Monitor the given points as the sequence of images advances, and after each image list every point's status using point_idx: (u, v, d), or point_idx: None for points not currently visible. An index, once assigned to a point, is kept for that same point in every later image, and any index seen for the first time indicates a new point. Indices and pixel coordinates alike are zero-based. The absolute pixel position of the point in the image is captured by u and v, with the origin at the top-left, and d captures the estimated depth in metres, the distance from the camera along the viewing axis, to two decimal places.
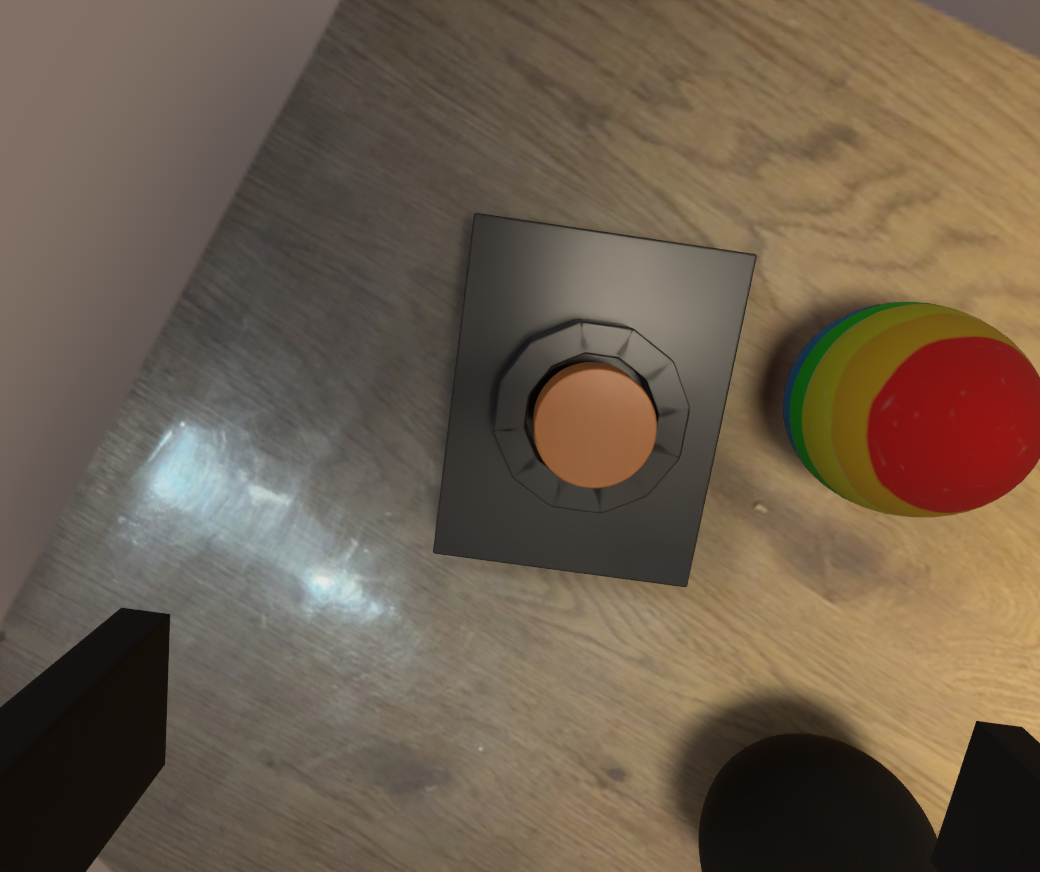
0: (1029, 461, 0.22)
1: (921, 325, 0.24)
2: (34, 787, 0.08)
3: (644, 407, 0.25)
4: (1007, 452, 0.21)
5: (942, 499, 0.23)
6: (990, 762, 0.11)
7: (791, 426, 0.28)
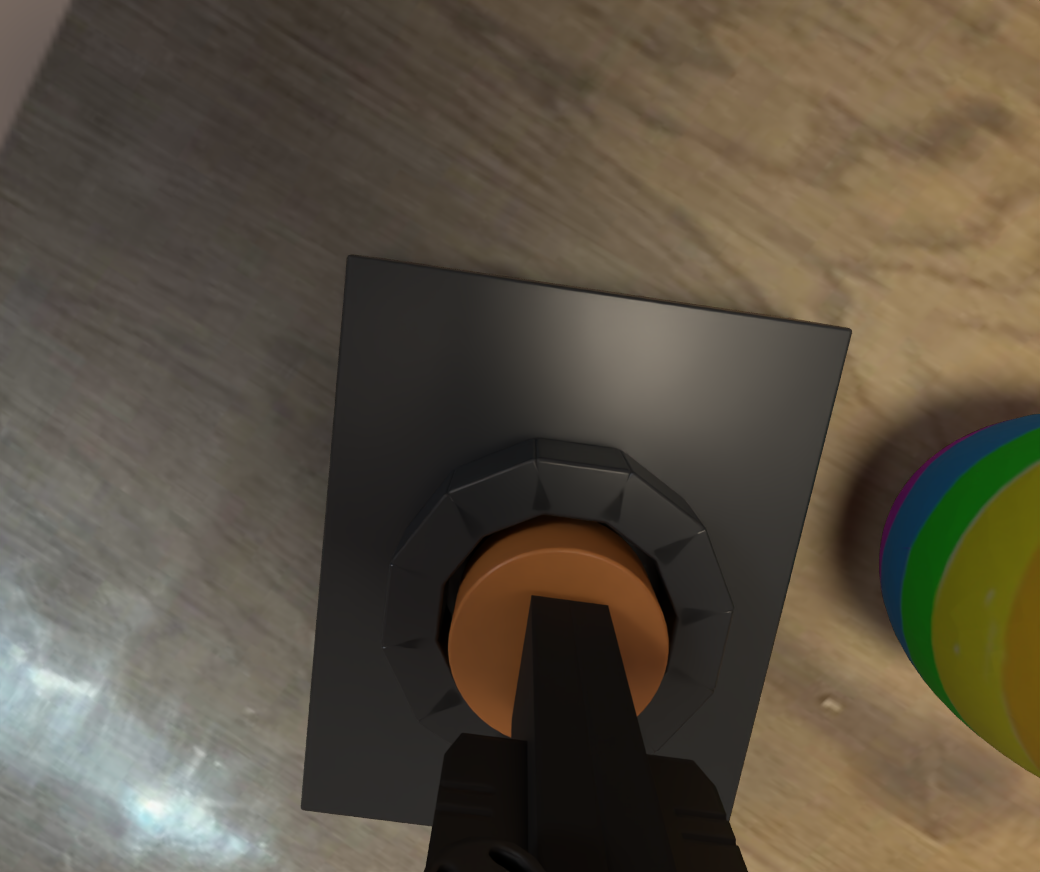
0: None
1: None
2: None
3: (647, 614, 0.14)
4: None
5: None
6: None
7: (904, 620, 0.16)
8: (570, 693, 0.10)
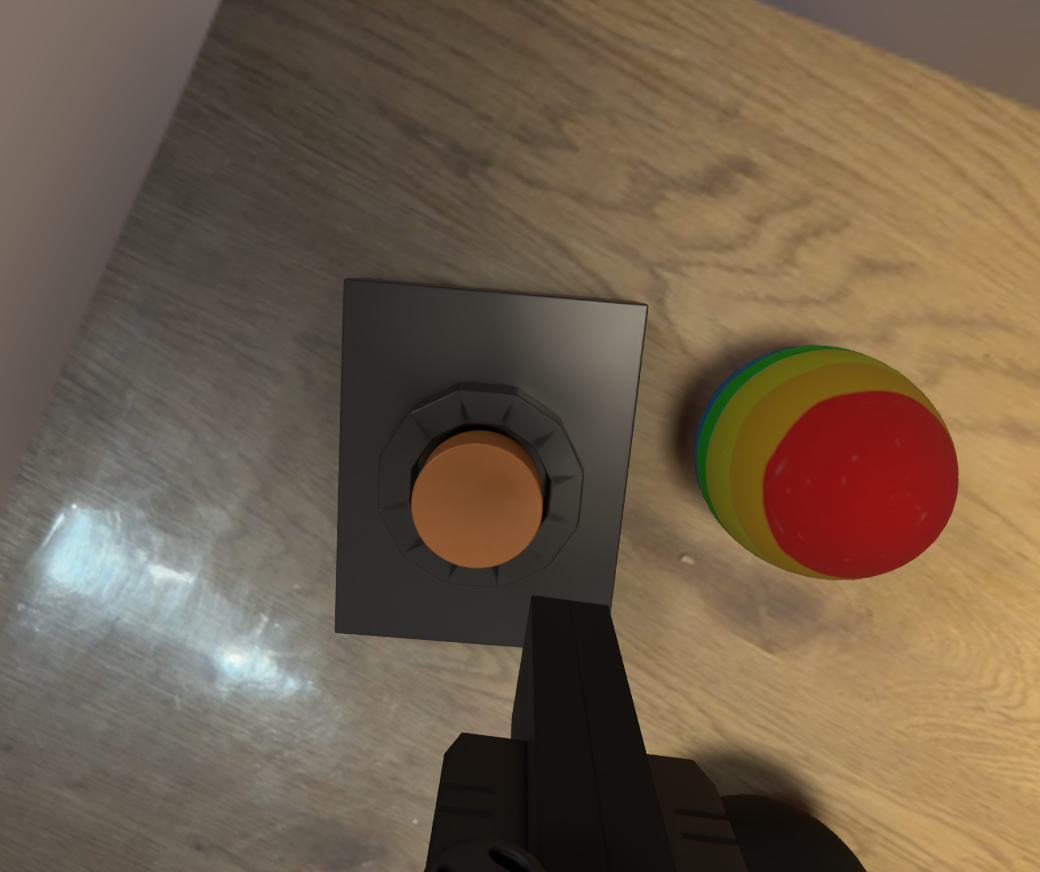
0: (932, 527, 0.20)
1: (816, 378, 0.22)
2: None
3: (526, 481, 0.23)
4: (904, 521, 0.20)
5: (846, 568, 0.21)
6: None
7: (700, 482, 0.26)
8: (570, 693, 0.10)
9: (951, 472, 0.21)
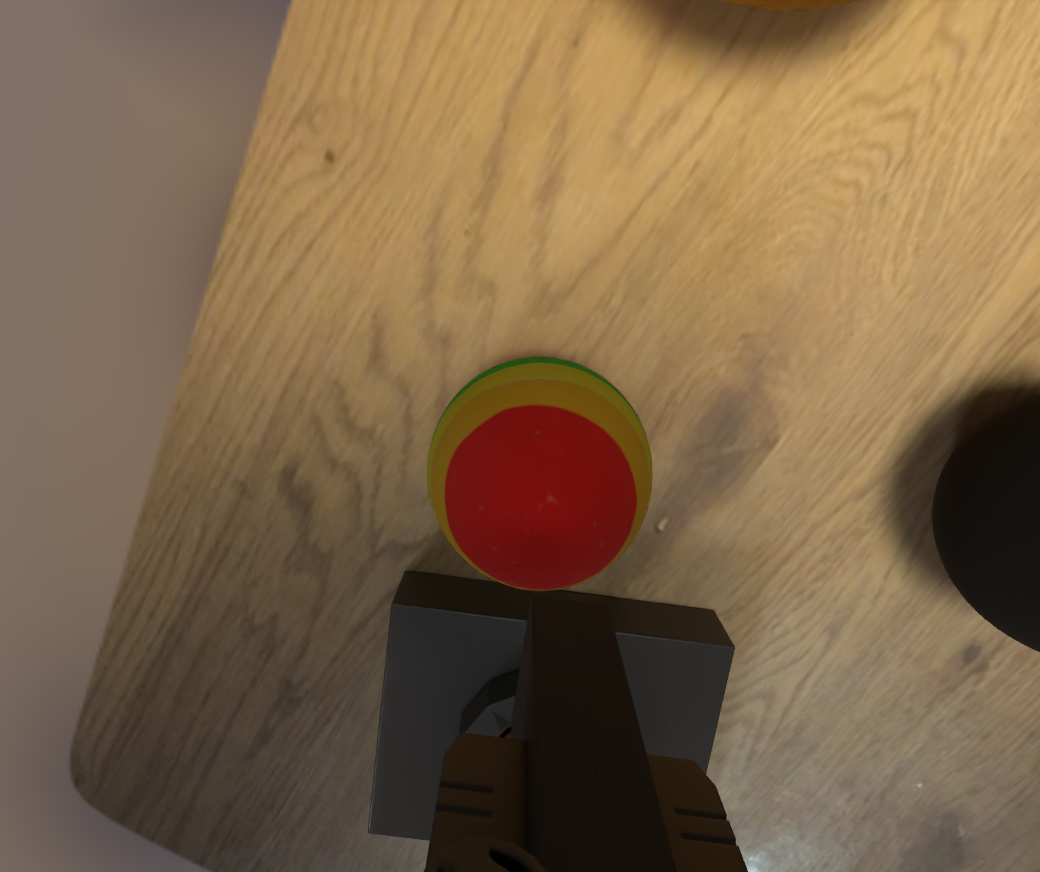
0: (567, 479, 0.20)
1: (440, 520, 0.23)
2: None
3: None
4: (554, 519, 0.20)
5: (615, 534, 0.21)
6: None
7: None
8: (570, 693, 0.10)
9: (518, 443, 0.20)
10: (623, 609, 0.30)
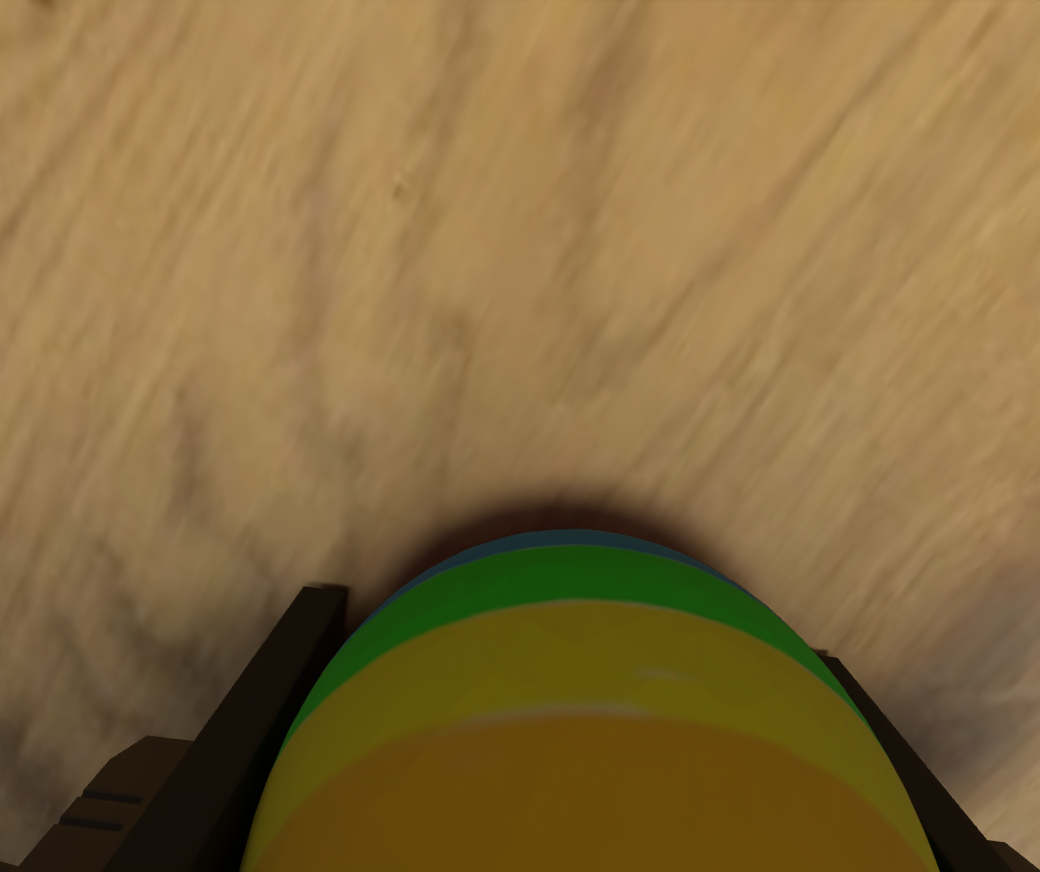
0: None
1: None
2: (286, 730, 0.09)
3: None
4: None
5: None
6: None
7: None
8: None
9: None
10: None
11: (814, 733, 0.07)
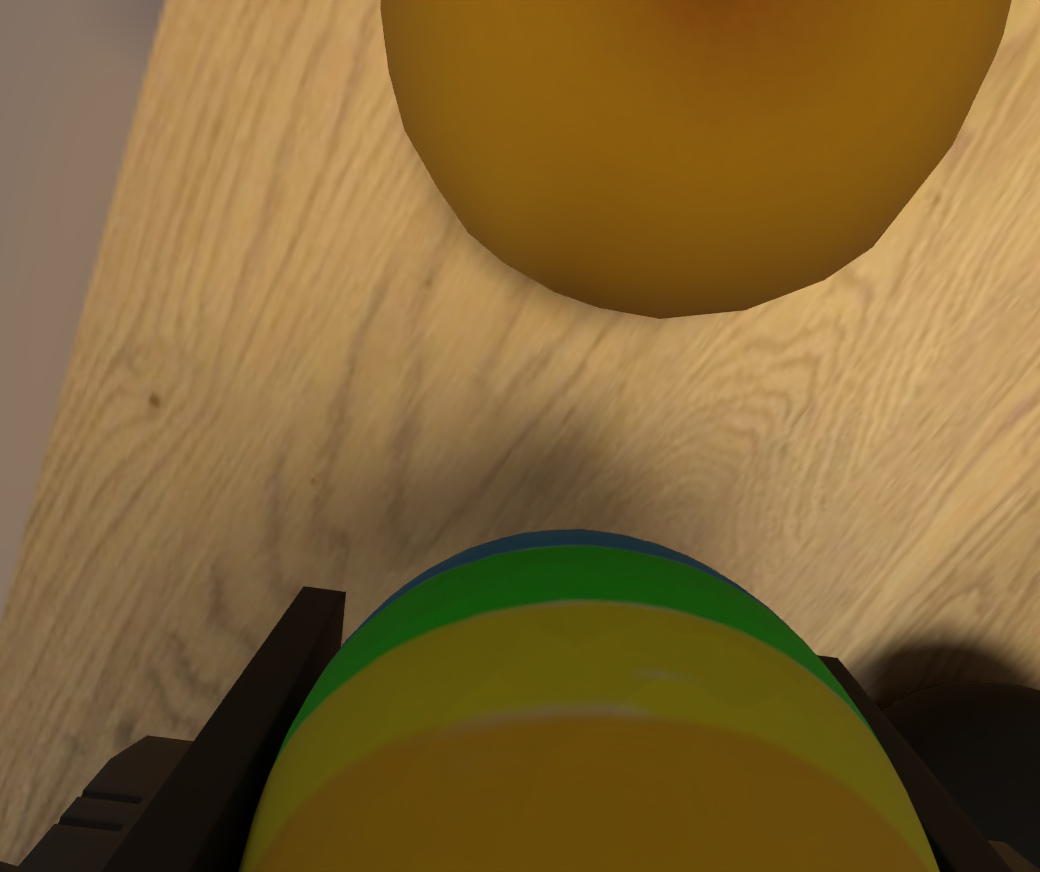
0: None
1: None
2: (286, 730, 0.09)
3: None
4: None
5: None
6: None
7: None
8: None
9: None
10: None
11: (814, 734, 0.07)
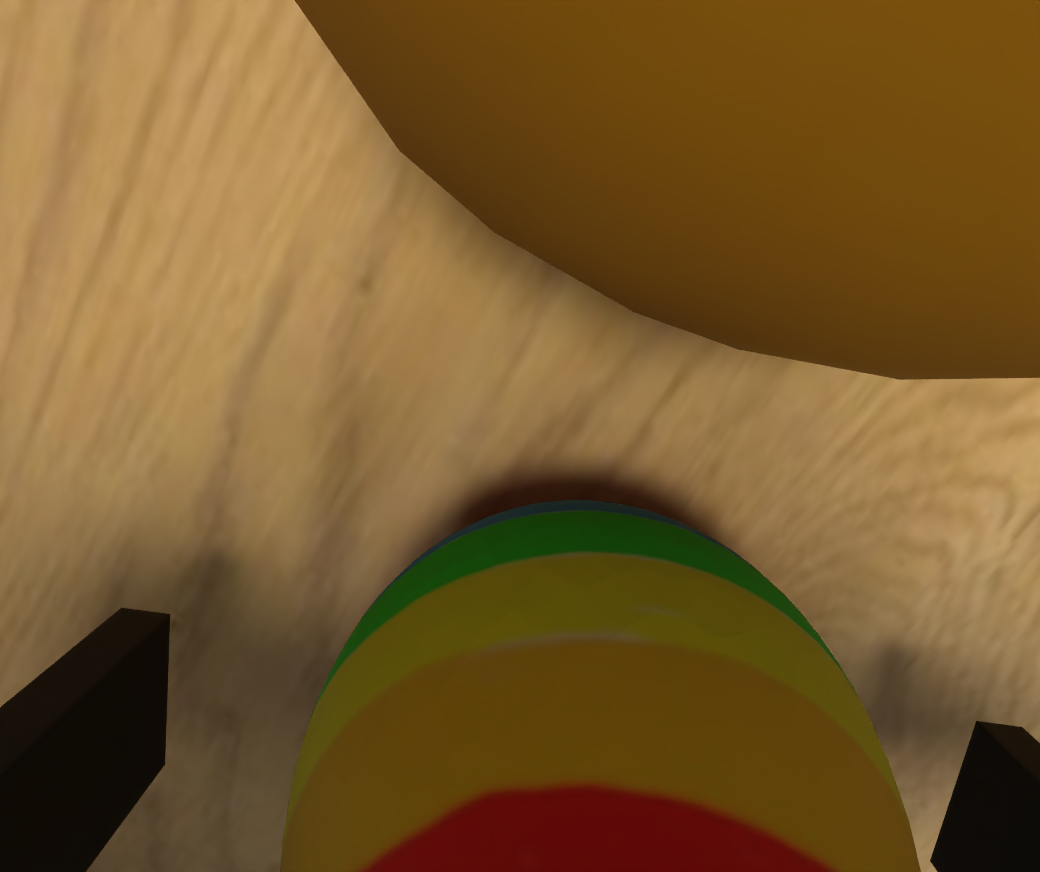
0: None
1: None
2: (34, 787, 0.08)
3: None
4: None
5: None
6: (990, 762, 0.11)
7: None
8: None
9: None
10: None
11: (786, 661, 0.08)
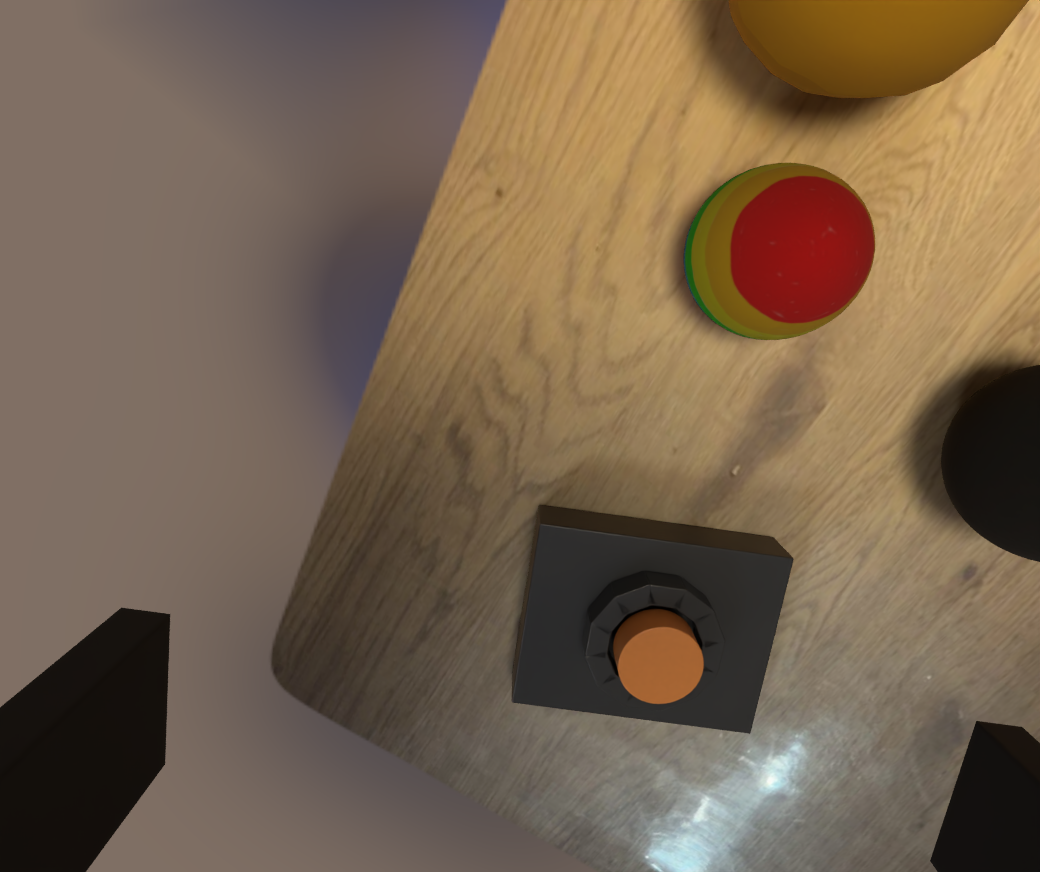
0: (840, 217, 0.28)
1: (715, 276, 0.31)
2: (34, 787, 0.08)
3: (646, 635, 0.35)
4: (833, 244, 0.28)
5: (863, 269, 0.29)
6: (990, 762, 0.11)
7: None
8: None
9: (800, 196, 0.28)
10: (707, 533, 0.40)
11: None
